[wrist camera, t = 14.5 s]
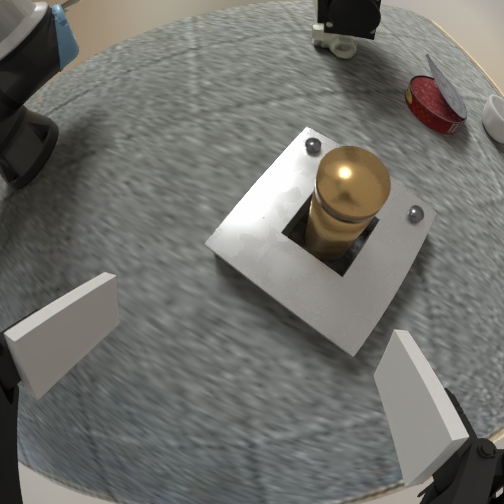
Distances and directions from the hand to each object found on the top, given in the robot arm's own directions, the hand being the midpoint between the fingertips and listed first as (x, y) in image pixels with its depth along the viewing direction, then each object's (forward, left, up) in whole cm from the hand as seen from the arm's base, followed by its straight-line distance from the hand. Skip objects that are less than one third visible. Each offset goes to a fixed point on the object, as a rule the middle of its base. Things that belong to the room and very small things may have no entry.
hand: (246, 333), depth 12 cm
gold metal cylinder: (-1, +10, -14) cm, 17 cm away
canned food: (+2, +39, -14) cm, 41 cm away
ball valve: (-17, +42, -14) cm, 47 cm away
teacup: (+14, +45, -14) cm, 49 cm away
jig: (-1, +11, -14) cm, 17 cm away
